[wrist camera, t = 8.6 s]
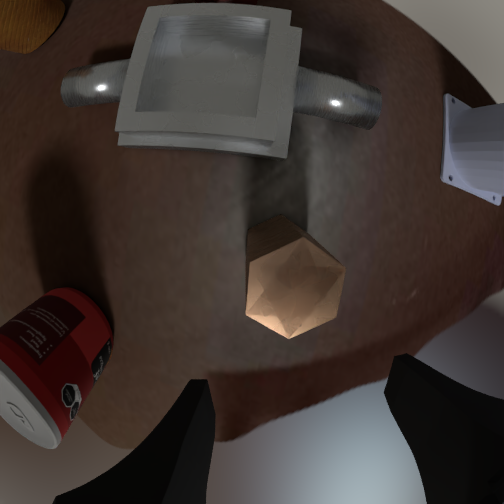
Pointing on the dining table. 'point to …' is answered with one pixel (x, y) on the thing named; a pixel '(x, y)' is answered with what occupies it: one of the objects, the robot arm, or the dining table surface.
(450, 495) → the robot arm
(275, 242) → the wooden hexagonal prism
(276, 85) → the valve body
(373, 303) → the dining table surface
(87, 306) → the canned food
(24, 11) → the disposable coffee cup
